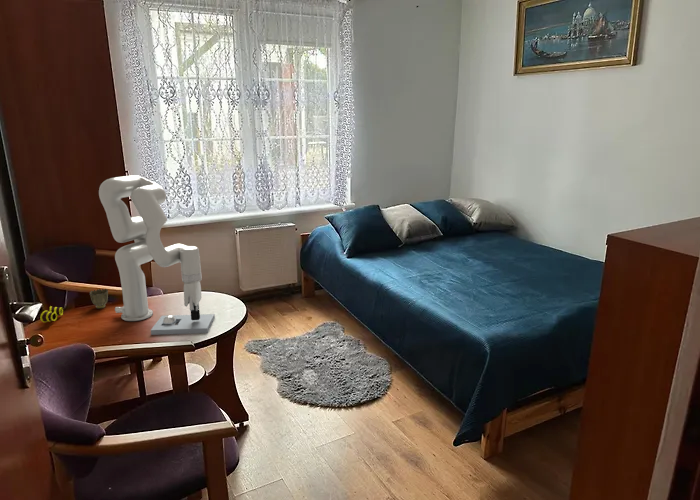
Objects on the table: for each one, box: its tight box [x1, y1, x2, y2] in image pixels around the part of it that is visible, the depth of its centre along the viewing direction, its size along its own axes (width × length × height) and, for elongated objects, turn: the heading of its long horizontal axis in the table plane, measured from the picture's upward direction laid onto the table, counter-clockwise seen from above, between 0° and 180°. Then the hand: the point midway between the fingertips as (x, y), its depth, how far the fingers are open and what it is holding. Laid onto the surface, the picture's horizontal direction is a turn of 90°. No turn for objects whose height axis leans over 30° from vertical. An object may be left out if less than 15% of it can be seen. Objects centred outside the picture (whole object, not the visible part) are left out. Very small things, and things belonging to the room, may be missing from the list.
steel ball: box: [163, 315, 177, 325], centre depth 201 cm, size 5×5×5 cm
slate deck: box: [150, 313, 216, 336], centre depth 202 cm, size 22×15×2 cm
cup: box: [89, 288, 109, 310], centre depth 221 cm, size 8×7×8 cm
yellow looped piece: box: [40, 305, 64, 323], centre depth 209 cm, size 10×5×5 cm, turn 5°
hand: (195, 319), depth 202 cm, fingers closed
